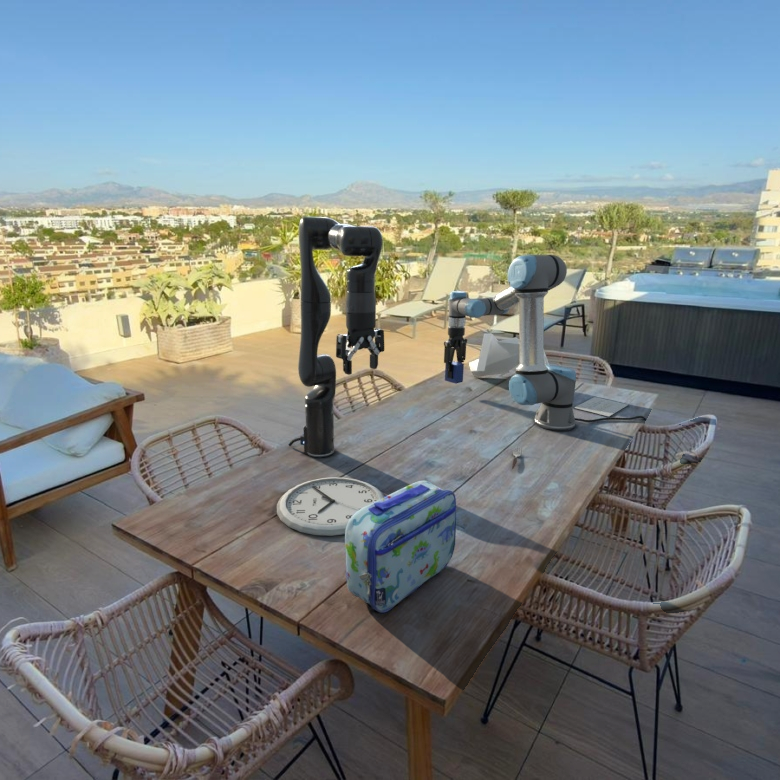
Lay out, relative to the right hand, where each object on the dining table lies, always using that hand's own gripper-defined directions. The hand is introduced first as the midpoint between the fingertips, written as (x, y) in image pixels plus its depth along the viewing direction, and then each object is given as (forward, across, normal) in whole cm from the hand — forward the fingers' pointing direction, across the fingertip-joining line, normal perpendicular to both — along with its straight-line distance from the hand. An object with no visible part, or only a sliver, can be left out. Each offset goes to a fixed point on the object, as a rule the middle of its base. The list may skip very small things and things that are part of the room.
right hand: (453, 376), depth 240 cm
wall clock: (+8, +103, +47) cm, 113 cm away
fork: (+8, +40, +62) cm, 75 cm away
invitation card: (+8, -35, +54) cm, 65 cm away
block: (+2, 0, 0) cm, 2 cm away
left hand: (-29, +94, +48) cm, 110 cm away
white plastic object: (+8, -32, +7) cm, 34 cm away
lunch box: (+9, +111, +83) cm, 139 cm away
